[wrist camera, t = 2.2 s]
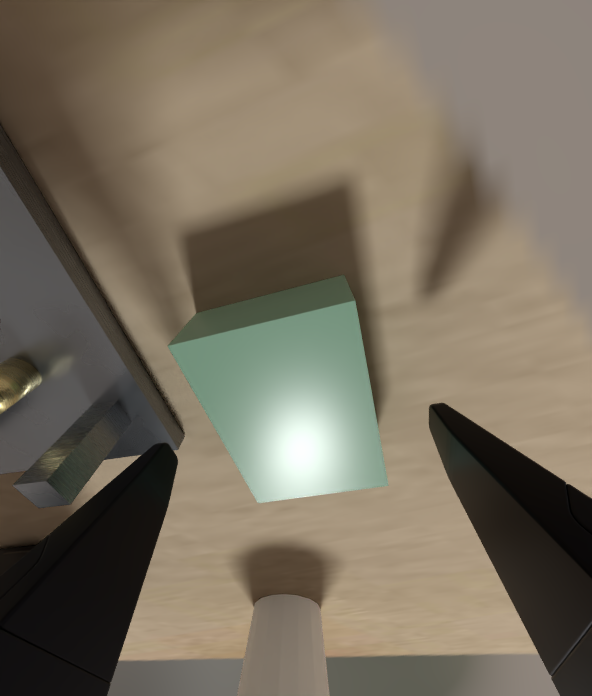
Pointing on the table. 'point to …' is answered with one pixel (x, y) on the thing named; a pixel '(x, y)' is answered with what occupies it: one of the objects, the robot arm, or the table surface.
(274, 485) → the green rectangular block
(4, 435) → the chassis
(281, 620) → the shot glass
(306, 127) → the table surface
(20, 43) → the table surface
